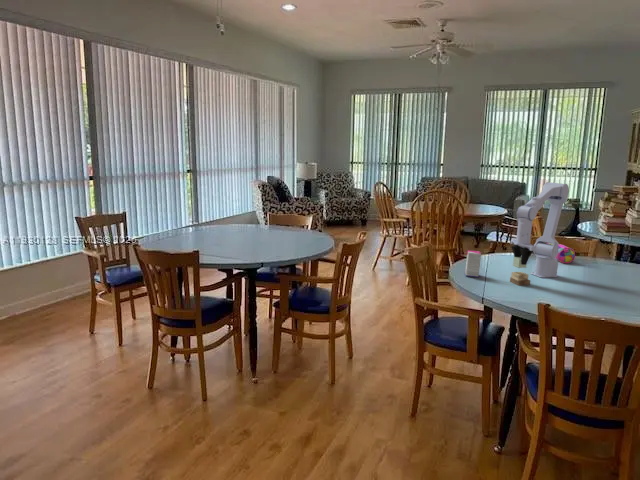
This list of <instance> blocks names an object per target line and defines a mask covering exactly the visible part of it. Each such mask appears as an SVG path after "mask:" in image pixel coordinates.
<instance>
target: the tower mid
mask: <svg viewBox="0 0 640 480" xmlns="http://www.w3.org/2000/svg"><path fill="white" fill-rule="evenodd" d="M510 277H511V278H513V279H515V280H518V281H521V280H529V274H528V273H525V272H523V271H511V276H510Z"/></svg>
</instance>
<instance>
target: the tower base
mask: <svg viewBox="0 0 640 480" xmlns="http://www.w3.org/2000/svg"><path fill="white" fill-rule="evenodd" d="M509 283H512V284H514V285H517V286H519V287H520V286H530V285H531V280H530V279H528V280H521V281H518V280H515V279H513V278H511V276H510V278H509Z"/></svg>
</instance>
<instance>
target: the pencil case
mask: <svg viewBox="0 0 640 480" xmlns="http://www.w3.org/2000/svg"><path fill="white" fill-rule="evenodd" d="M546 244H550V243H546ZM551 245H552V244H551ZM558 249H559V251H558V255H557V256H556V257H555V258H556V259H557V260H558V262H560V263H563V264H570V263H572V262H573V261H574V260H575V258H576V252H575V250H574V249H573V248H571V247H568V246H566V245H564V244H561V243H559V248H558Z"/></svg>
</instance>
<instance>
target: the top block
mask: <svg viewBox="0 0 640 480" xmlns="http://www.w3.org/2000/svg"><path fill="white" fill-rule="evenodd" d="M527 265H528V263H527V264H526V265H522V264H521V257H514V256H513V261H512V266H513V267H515V268H518V269H524V268H525V269H526V268H527Z"/></svg>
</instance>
